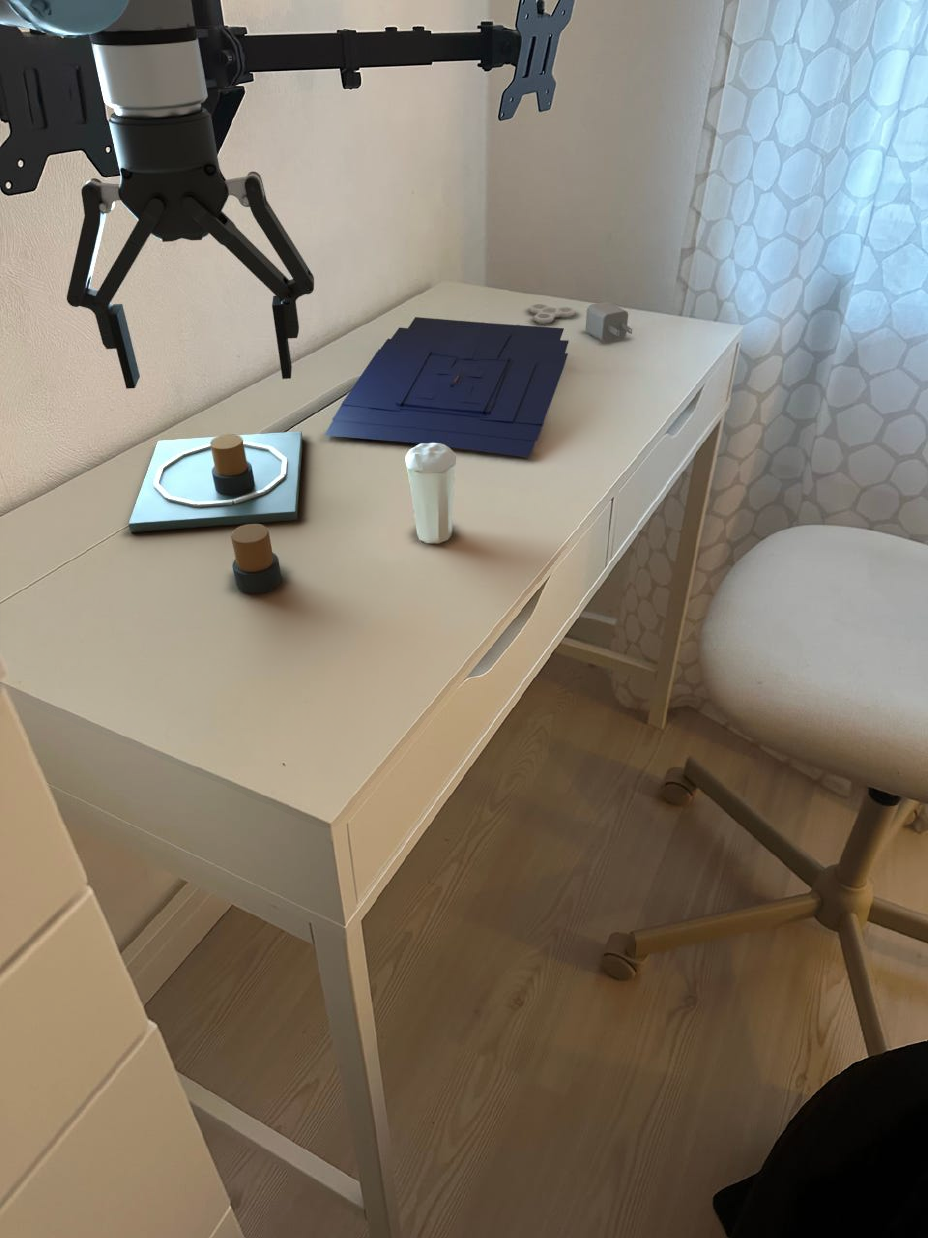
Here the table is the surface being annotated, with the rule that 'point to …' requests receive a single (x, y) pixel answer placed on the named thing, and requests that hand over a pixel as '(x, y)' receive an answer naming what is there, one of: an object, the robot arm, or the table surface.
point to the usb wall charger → (607, 322)
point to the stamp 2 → (254, 559)
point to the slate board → (187, 489)
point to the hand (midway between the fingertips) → (210, 378)
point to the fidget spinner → (550, 312)
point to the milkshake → (432, 490)
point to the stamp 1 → (231, 466)
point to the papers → (457, 386)
